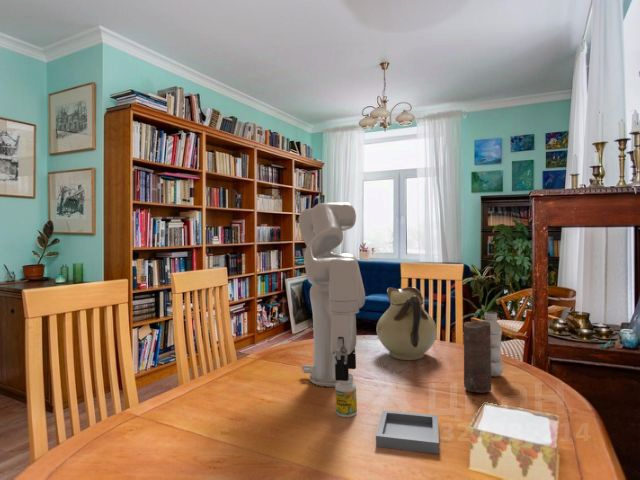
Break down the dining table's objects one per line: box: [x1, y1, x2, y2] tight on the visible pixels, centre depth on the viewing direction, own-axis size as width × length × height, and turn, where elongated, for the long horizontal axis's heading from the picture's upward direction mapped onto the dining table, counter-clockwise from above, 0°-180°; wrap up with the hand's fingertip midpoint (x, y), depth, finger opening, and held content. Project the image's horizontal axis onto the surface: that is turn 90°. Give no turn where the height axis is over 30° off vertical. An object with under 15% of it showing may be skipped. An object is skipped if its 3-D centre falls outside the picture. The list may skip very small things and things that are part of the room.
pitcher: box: [375, 286, 438, 361], centre depth 148 cm, size 22×24×25 cm
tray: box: [375, 409, 440, 455], centre depth 89 cm, size 13×13×2 cm
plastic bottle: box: [484, 311, 504, 377], centre depth 126 cm, size 6×7×20 cm
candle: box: [463, 320, 492, 394], centre depth 113 cm, size 8×7×20 cm
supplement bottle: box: [334, 373, 358, 418], centre depth 101 cm, size 5×5×10 cm
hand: (346, 374), depth 100 cm, fingers open, 9 cm apart
